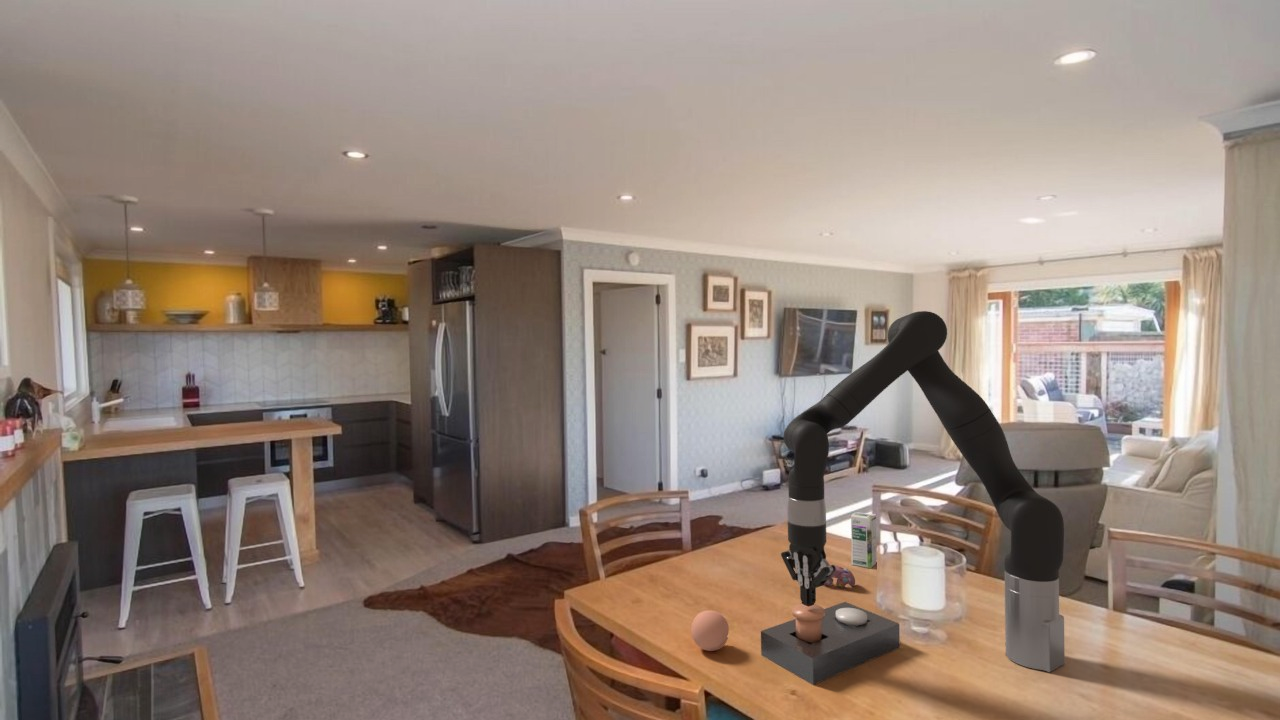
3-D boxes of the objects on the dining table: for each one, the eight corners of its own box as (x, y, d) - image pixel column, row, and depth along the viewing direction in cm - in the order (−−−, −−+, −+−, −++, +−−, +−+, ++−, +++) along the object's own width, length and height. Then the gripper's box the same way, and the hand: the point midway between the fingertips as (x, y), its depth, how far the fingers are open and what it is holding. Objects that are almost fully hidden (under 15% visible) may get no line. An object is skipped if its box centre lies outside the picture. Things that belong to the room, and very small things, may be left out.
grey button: (874, 641, 133) (873, 615, 133) (854, 649, 129) (853, 623, 129) (849, 630, 138) (849, 605, 138) (829, 638, 135) (829, 612, 135)
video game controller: (815, 589, 168) (813, 570, 165) (819, 576, 171) (816, 557, 168) (854, 595, 163) (852, 575, 160) (856, 582, 167) (854, 562, 164)
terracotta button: (832, 638, 126) (831, 611, 126) (809, 647, 122) (809, 618, 122) (807, 627, 131) (807, 600, 131) (785, 635, 128) (785, 607, 128)
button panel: (899, 647, 131) (899, 623, 131) (813, 684, 118) (812, 658, 117) (845, 623, 143) (845, 601, 143) (761, 655, 129) (760, 631, 129)
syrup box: (851, 565, 181) (850, 515, 181) (857, 559, 186) (856, 510, 186) (871, 569, 178) (870, 518, 178) (877, 563, 183) (876, 513, 182)
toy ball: (735, 646, 133) (734, 609, 133) (719, 661, 127) (718, 622, 127) (702, 637, 138) (701, 601, 138) (684, 652, 131) (684, 614, 131)
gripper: (845, 523, 123) (847, 611, 123) (795, 509, 134) (796, 590, 134) (819, 530, 119) (820, 620, 119) (769, 515, 130) (771, 598, 130)
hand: (808, 604), depth 127 cm, fingers closed
